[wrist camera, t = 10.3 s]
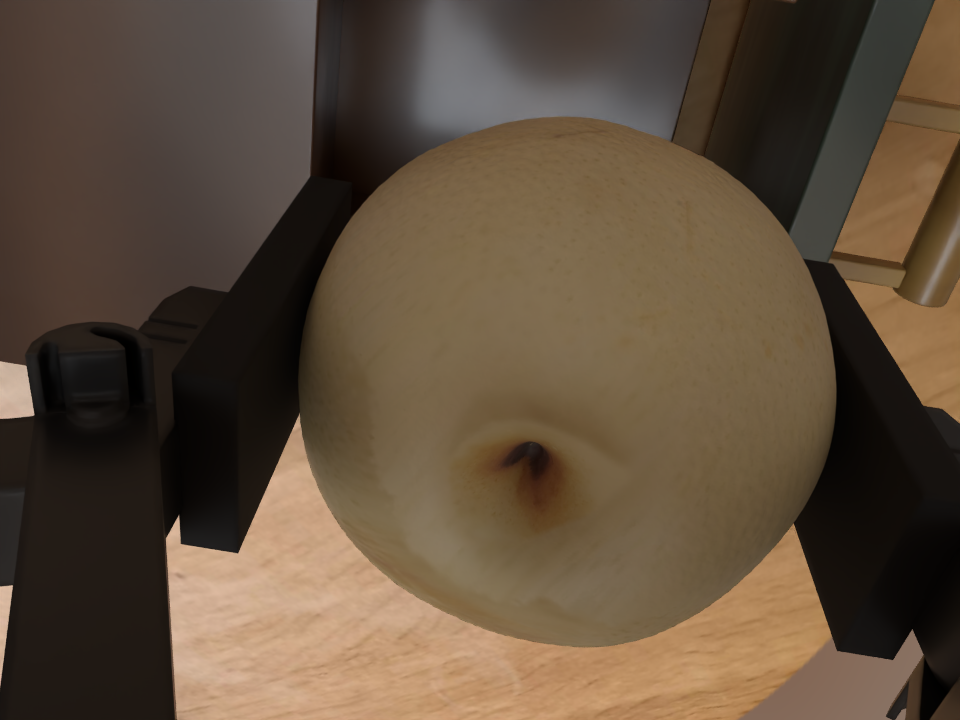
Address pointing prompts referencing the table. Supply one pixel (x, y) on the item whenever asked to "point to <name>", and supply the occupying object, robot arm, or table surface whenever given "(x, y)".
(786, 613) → the table surface
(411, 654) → the table surface
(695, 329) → the apple
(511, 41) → the drawer
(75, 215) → the cabinet
